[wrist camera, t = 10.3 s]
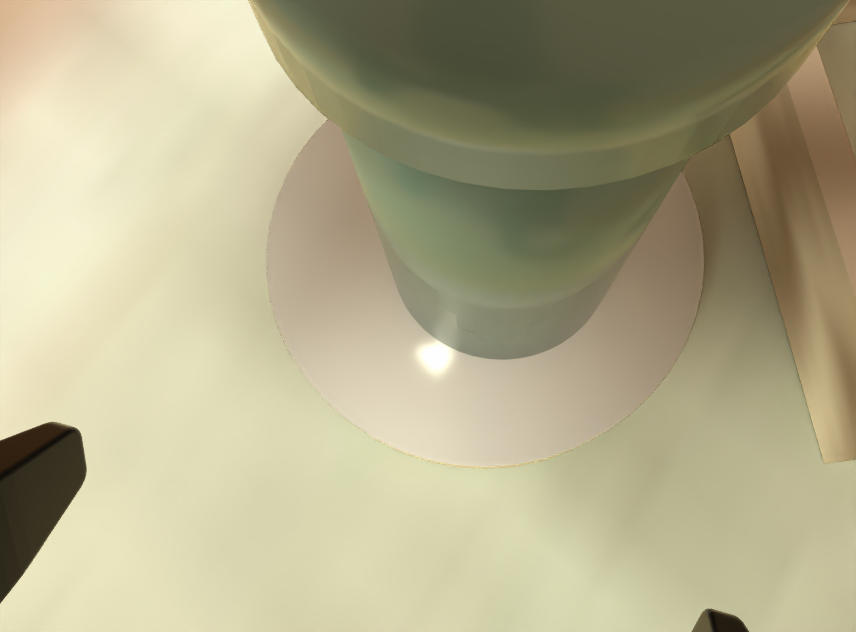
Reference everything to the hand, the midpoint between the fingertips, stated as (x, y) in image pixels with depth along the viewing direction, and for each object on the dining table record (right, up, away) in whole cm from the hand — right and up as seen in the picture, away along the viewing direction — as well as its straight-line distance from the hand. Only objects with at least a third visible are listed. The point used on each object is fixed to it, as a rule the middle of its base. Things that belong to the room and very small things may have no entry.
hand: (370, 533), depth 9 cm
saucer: (+2, +5, +10) cm, 12 cm away
